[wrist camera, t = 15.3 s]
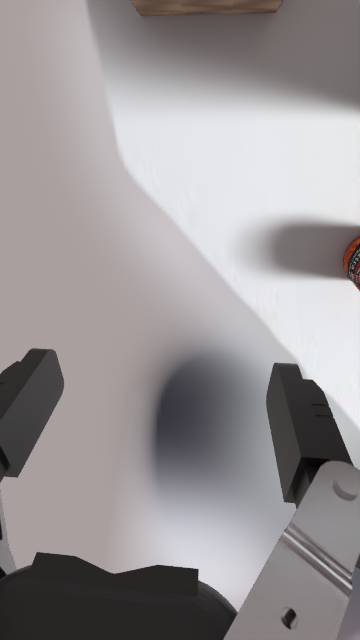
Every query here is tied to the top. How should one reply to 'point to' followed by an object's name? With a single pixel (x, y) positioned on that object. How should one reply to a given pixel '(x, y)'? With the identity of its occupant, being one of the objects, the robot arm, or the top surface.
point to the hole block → (204, 6)
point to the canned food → (353, 262)
